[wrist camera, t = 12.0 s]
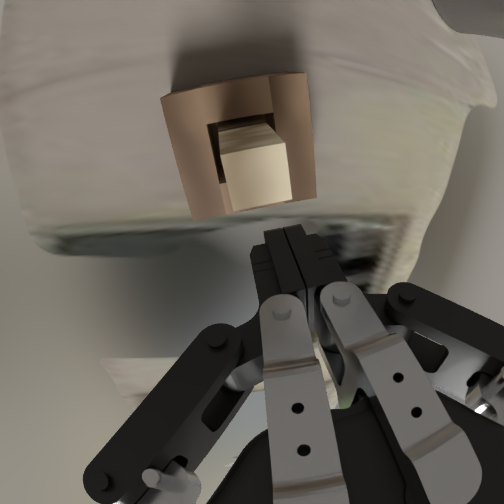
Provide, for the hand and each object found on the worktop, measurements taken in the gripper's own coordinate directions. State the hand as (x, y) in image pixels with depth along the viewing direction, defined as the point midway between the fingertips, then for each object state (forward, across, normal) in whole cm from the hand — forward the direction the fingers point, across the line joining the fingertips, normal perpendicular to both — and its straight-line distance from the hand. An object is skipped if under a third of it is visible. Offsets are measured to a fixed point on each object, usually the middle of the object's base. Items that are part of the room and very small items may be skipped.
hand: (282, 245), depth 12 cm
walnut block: (+20, 0, 0) cm, 20 cm away
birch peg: (+20, 0, 0) cm, 20 cm away
